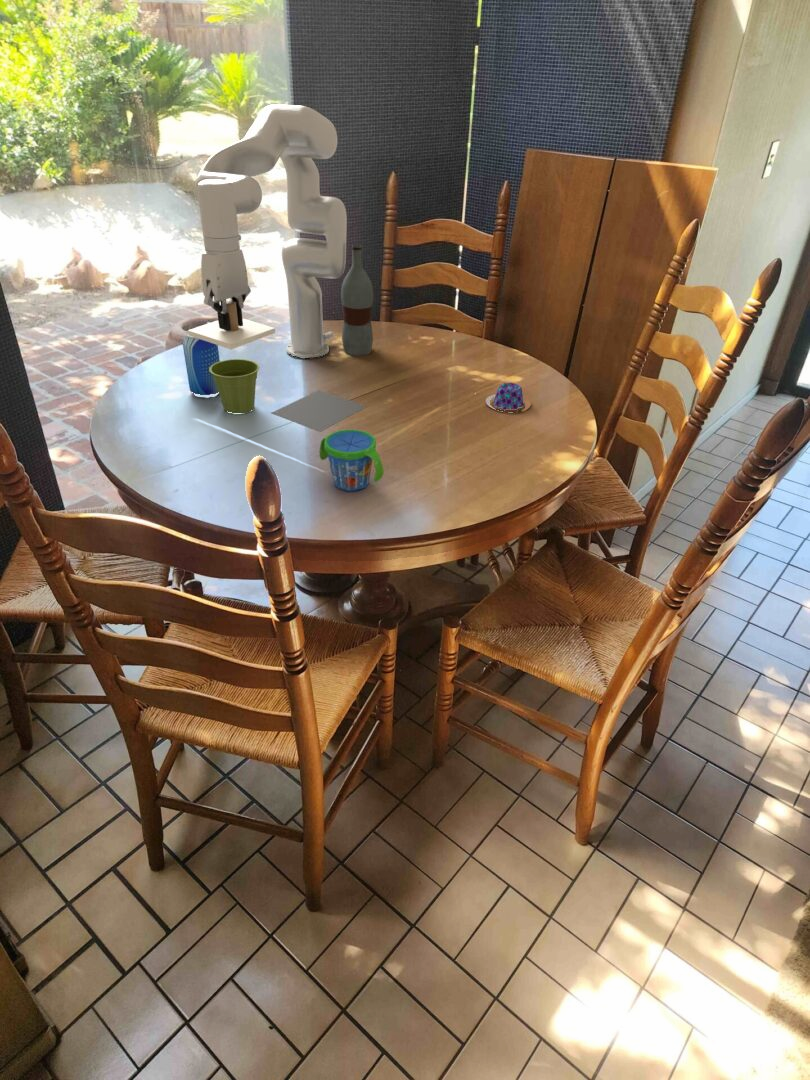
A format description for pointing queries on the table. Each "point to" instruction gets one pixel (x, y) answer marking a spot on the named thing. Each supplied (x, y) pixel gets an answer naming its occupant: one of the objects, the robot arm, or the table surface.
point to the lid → (231, 331)
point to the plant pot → (236, 383)
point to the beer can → (200, 364)
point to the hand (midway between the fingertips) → (231, 326)
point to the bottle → (357, 308)
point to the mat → (319, 410)
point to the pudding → (507, 396)
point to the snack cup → (351, 458)
